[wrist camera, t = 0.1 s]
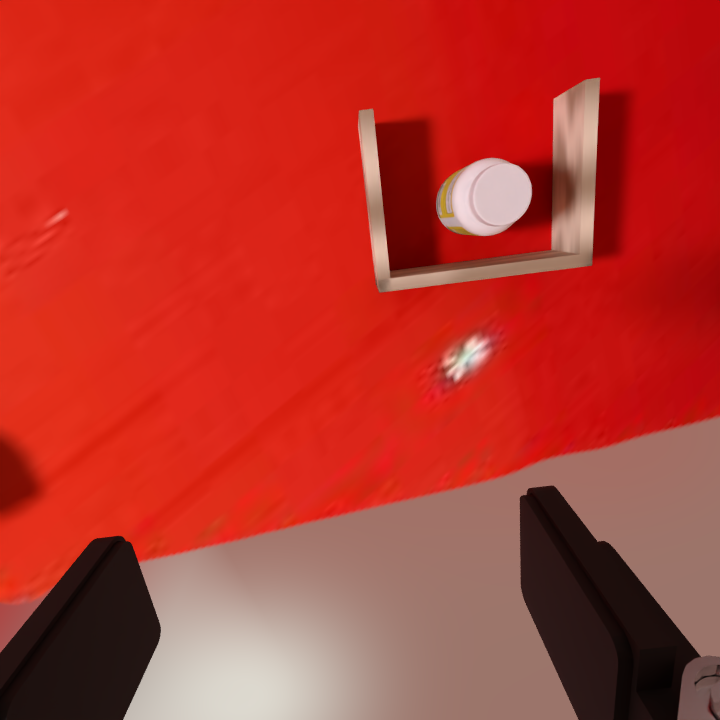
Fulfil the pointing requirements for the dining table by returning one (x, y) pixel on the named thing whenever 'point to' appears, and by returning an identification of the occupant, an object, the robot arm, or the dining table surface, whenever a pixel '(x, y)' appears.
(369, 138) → the open-sided box
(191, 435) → the dining table surface
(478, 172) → the supplement bottle
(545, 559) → the robot arm
